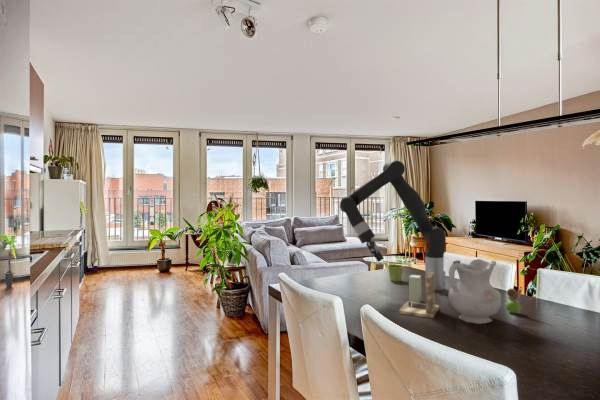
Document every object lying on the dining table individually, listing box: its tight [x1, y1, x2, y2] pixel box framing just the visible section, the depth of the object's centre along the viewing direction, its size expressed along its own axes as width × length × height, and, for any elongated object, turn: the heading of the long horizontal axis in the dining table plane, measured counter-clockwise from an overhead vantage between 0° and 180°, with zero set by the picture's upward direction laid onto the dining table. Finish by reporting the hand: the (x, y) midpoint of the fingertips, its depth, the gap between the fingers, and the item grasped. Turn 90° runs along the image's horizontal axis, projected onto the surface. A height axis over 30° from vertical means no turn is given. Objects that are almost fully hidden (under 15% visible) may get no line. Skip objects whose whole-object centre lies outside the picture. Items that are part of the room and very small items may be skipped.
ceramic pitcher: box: [448, 258, 502, 325], centre depth 149 cm, size 22×19×25 cm
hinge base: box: [398, 272, 440, 319], centre depth 161 cm, size 14×16×16 cm
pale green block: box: [408, 274, 422, 303], centre depth 175 cm, size 4×6×12 cm
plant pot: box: [387, 264, 405, 282], centre depth 218 cm, size 9×9×9 cm
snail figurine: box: [505, 286, 523, 314], centre depth 156 cm, size 5×6×12 cm
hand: (381, 260), depth 183 cm, fingers open, 8 cm apart
